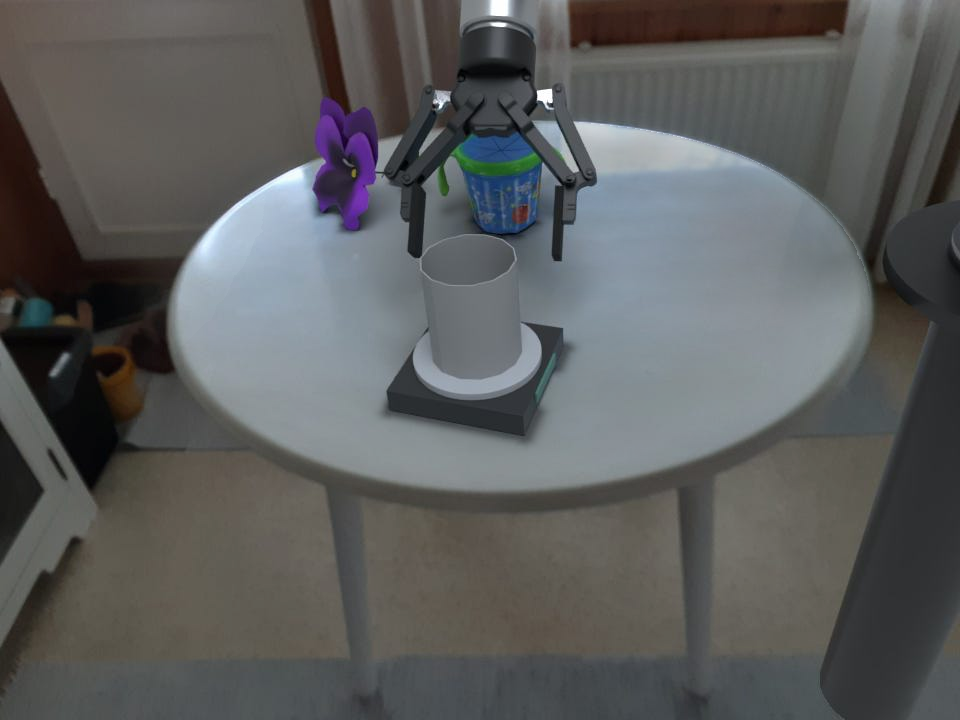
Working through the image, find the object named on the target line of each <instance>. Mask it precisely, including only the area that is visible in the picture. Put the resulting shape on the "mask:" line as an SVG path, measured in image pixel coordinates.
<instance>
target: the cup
mask: <svg viewBox="0 0 960 720" xmlns="http://www.w3.org/2000/svg"><path fill="white" fill-rule="evenodd" d="M419 271H420V279H421V284H422V292H423V301H424V306H425V314H426V321H427V328H429V335H430V342H431V349H432V356H433V362H434V363H435V364H436V366H437V367H438V368H439V369H440V370H441V371H442V372H443V373H445V374H448V375H451V376H453V377H456V378H459V379H475V380H482V379H485V378H489V377H493V376H497V375H500V374H502V373H504V372H505V371H507V370H508V369H510V368H511V367H512V366H514V365H515V364H516V363H517V361H518V359H519V357H520V355H521V353H522V341H521V323H520V322H521V308H520V291H519V275H518V274H519V272H518V259H517V254H516V250H515V247H514V246H512V245H511V244H509V243H508V242H507V241H506V240H505V239H503V238H500V237H496V236H492V235H489V234H484V233H483V234H481V233H480V234H479V233H477V234H473V233H472V234H467V233H466V234H459V235H456V236H455V235H454V236H452V237H446V238H444V239H442V240H439V241H438V242H436V243H434V244H432V245H430V246H429V247H427V248H426V249H425V251H424V252H423V253H422V256H421V258H419Z"/></svg>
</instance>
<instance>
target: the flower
mask: <svg viewBox="0 0 960 720" xmlns="http://www.w3.org/2000/svg"><path fill="white" fill-rule="evenodd" d="M314 146H315V148H316V152H318V154H319V155H320V156H321V158H322V159H323V160H324V161H325V163H323V164H322V165H321V166H320V168H319V170H318V171H317V173H316V174H315V179H314V182H313V186H312V188H311V190H312V192H313V193H314V196H315V197H316V200H317V203H318V205H319V207H320V210H321V212H322V213H324V212H325V211H326V210H327V209H328V208H329V207H330V206H332V205H337V207H338V209H339V211H340V213H341V217H342V221H343V225H344V227H345V229H346V230H347V229H348V230H349V231H352V230H354V231H355V230H359V227H360V219H359V216H361V215H362V214H363V213H364V212H365V211H367V209H368V208H369V201H370V192H369V191H368V189H367V186H372V185H375V183H376V181H377V174H378V175H379V174H380V175H381V174H382V175H381V179H383V178H384V176H385V175H384V171H377V170H376V168H377V164H378V160H379V136H378V130H377V124H376V121H375V117H374V114H373V113H372V111H371V109H369V108H367V107H366V106H362V107H360V108H359V109H357V110H356V111H354V112H349V113H348V114H345V111H344V109H343V108H342V106H340V104H339V103H337V102H336V101H335V100H333V99H332V98H330V97H327V96H325V97H324V98H322V99H321V101H320V105H319V120H318V123H317V126H316V130H315V135H314ZM419 156H420V151H419V152H418V154H417V155H416V157H415V159H414V161H415V160H416V159H417V158H418V157H419ZM414 161H413V162H412V164H413V163H414ZM412 164H411V165H412Z"/></svg>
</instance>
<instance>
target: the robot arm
mask: <svg viewBox="0 0 960 720" xmlns="http://www.w3.org/2000/svg"><path fill="white" fill-rule="evenodd" d="M539 3H540V0H461V4H460V5H461V6H460V20H459V30H458V31H459V37H460V39H459V42H458V49H457V51H458V52H457V53H458V54H457V64H456V65H457V67H456V80H455V84H454V86H453V88H452V90H451V91H449V90H440V89H436V88H435V86H434V85H432V84H427V85H424V86H423V89H422V92H421V98H420V102H419V107H418V109H417V111H416V112H415V113H414V116H413V117H412V119H411V121H410V123H409V125H408V127H407V128H406V130H405V131H404V133H403V135H402V137H401V138H400V140H399V142H398V144H397V145H396V147H395V149H394V151H393V153H392V155H391V156H390V158H389V159H388V161H387V163H386V165H385V166H384V169H383V172H384V176H385V178H386V179H387V180H388V181H389V182H390V183H391V184H392V185H393V186H398V187H401V194H400V208H399V209H400V210H399V215H400V218H401V219H402V221H403V222H405V223H408V235H407V253H408V254H409V255H410V256H411V257H412V258H414V259H420V258H421V256H422V255H423V247H424V231H425V217H426V205H427V204H426V202H427V192H426V191H425V189H424V188H423V187H422V186H423V185H424V184H425V183H426V182H427V181H428V179H429V178H430V177H431V176H432V175H433V174H434V173H435V172H436V170H438V169H439V166H440V165H441V164H442V163H443V162H444V161H445V160H446V158H447V157H448V156H449V155H450V154H451V153H452V152H453V151H454V150H455V149H456V148H457V147H458V145H459V144H461V143H463V142H465V141H466V140H467V139H468V138H469V136H470V135H471V134H473V135H476V136H477V137H478V138H487V137H491V136H497V137H500V138H510V136H511V135H513V134H515V133H516V132H518V133H519V134H520V136H521V137H522V138H523V139H524V141H525V142H526V143H528V144H529V146H530V147H531V148H532V149H533V151H534V152H535V153H536V154H537V155H538V157H539V158H540V159H541V160H542V162H543V163H542V164H544V165H545V167H546V168H547V169H548V170H549V171H550V173H551V174H552V175H553V176H554V178H555V179H556V181H558V183H559V185H556V184H555V185H554V201H553V219H552V234H551V235H552V237H551V257H552V260H553V262H563V245H564V231H565V230H564V227H565V226H574V224H575V222H576V220H577V203H578V193H579V191H580V190H581V189H585V188H587V187H591V188H592V187H594V186H596V185H597V183H598V176H597V169H596V167H595V164H594V163H593V161H592V158H591V156H590V154H589V152H588V149H587V147H586V146H585V144H584V141H583V139H582V137H581V135H580V132H579V131H578V128H577V126H576V125H575V122H574V120H573V118H572V116H571V113H570V111H569V110H568V103H567V101H568V100H567V94H566V90H565V89H566V88H565V85H564V84H563V83H561V82H557V83H554V84H553V85H552V87H551V88H547V89H539V90H538V89H536V87H535V80H536V79H535V78H536V63H537V61H536V59H537V45H536V43H535V42H536V40H537V38H538V25H539V24H538V23H539V6H540V5H539ZM539 105H541V106H543V107H544V108H545V110H546V113H548V114H554V118H555V122H556V124H557V126H558V128H559V131H560V133H561V135H562V137H563V139H564V142H565V144H566V146H567V148H568V150H569V152H570V154H571V156H572V159H573V161H574V163H575V166H576V167H577V169H578V171H573V170H572V169H571V168H570V167H569V165H568V164H567V162H566V161H565V162H566V163H565V162H564V161H563V160H562V158H561V157H560V156H559V155H558V154H557V152H556V151H555V150H554V149H553V147H554V146H553V147H552V145H551V144H550V142H549V141H548V140H547V139H546V138H545V137H543V136H544V135H543V134H542V133H541V132H540V130H539V129H538V127H536V125H535V124H534V122H533V121H532V119H531V118H530V116H531V115H532V114H533V113H534V112H535V110H536V109H537V108H538V106H539ZM449 106H452V108H453V109H454V111H455V114H453V116H452V117H451V118H450V119H449V120H448V121H447V124H446V126H445V128H443V130H442V131H441V132H440V133H439V134H438V135H437V136H436V137H435V138H434V140H433V141H431V143H430V144H429V145H428V146H427V147H426V148H425V149H424V151H422V152H421V153H420V149H421V148H422V147H423V145H424V143H425V142H426V139H427V138H428V137H429V134H430V133H431V131H432V129H433V127H434V126H435V123H436V121H437V118H438V115H442V114H443V113H444V112H445V109H446V108H447V107H449ZM418 152H419V153H420V154H419V157H418V158H417V159H416V160H415V161H414V159H415V157H416V155H417V154H418ZM413 161H414V163H413V164H412V162H413ZM411 164H412V165H411ZM566 164H567V165H566ZM948 255H949V258H950V261H951V262H952V264H953V265H954V267H955V268H956V269H957V270H958V271H959V272H960V222H959V223H958V225H957V226H956V227H955V229H954V231H953V234H952V237H951V240H950V243H949V247H948Z"/></svg>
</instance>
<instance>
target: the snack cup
mask: <svg viewBox="0 0 960 720" xmlns="http://www.w3.org/2000/svg"><path fill="white" fill-rule="evenodd" d="M543 137H544V135H543ZM544 138H545V137H544ZM551 146H552V145H551ZM552 147H553V149H554V150H555V151H556V152H557V154H558V155H559V156H560V157H561V158H562V160H563V161H564V162H565V163H566V165H567V166H568V164H567V162H566V160H565V158H564V156H563V154H562V153H561V152H560V151H559V150H558V149H557V148H556V147H554V146H552ZM450 157H453V158H455V160H456V163H457V164H458V165H459V168H460V171H461V174H462V177H463V181H464V184H465V188H466V191H467V196H468V200H469V203H470V207H471V209H472V214H473V218H474V220H475V222H476V224H477V225H478V227H479V228H481V229H483V231H484V232H486V233H493V234H499V235H502V234H517V233H518V234H519V232H521V231H523V230H525V229H527V228H528V227H529V226H531V225H532V224H533V223H534V222H537V221H536V219H537V215H538V211H539V209H538V208H539V198H540V190H541V182H542V171H543V164H544V163H543V162H542V160H541V159H540V158H539V157H538V155H537V154H536V153H535V152H534V151H533V149H532V148H531V147H530V146H529V144H528V143H526V142H525V141H524V139H523V138H522V137H521V136H520V134H519V133H518V132H516V133H515V134H513V135H511V136H510V138H500V137H497V136H491V137H487V138H478V137H477V136H476V135H473V134H471V135H470V136H469V138H468V139H467V140H466V141H465V142H463V143H461V144H459V145H458V147H457V148H456V149H455V150H454V151H453V152H452V153H451V154H450V155H449V156H448V157H447V158H446V160H445V161H444V162H443V163H442V164H441V165H440V166H439V167H438V168H437V185H438V189H439V193H440V194H441V196H443V197H446V196H448V193H449V191H450V184H449V183H448V180H447V176H446V171H445V165H446V163H447V161H448V159H449V158H450Z"/></svg>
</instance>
